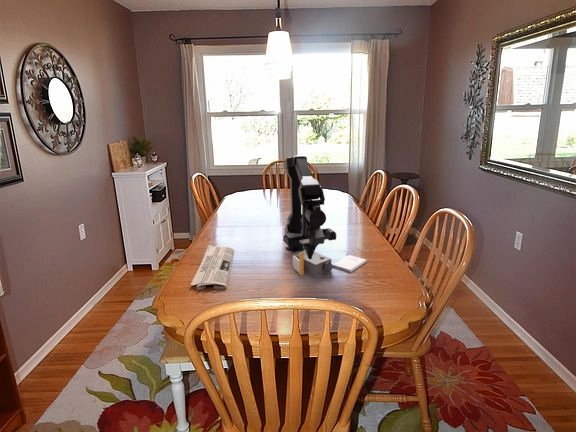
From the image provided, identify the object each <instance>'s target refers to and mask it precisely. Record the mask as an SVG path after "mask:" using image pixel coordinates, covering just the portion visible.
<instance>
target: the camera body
mask: <svg viewBox="0 0 576 432" xmlns="http://www.w3.org/2000/svg"><path fill="white" fill-rule="evenodd" d="M302 252H303V253H304V273H306V274H308V275H309V276H312V277H314V278H317V277H320V276H322V275H326V274H327V273H330V272H332V270H333V267H332V265H333V264H332V258H330V257H328V256H327V255H326V256H325V255H324V254H321V253H319V252H316V251H314V254H313V256H312V259H308V256H307V254H306V251H305V250H304V251H302ZM299 253H300V252H299ZM299 253H296V254H294V255H295V256H296V257H297V258H298V259H299Z"/></svg>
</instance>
